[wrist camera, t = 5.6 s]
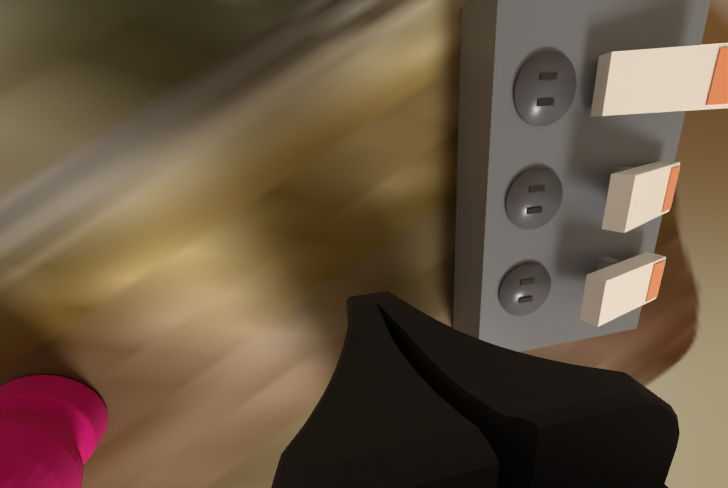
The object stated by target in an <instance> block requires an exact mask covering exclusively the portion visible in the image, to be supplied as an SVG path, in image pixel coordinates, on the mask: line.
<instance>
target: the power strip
mask: <svg viewBox="0 0 728 488" xmlns="http://www.w3.org/2000/svg"><path fill="white" fill-rule="evenodd" d="M710 2H711V0H473V1H472V2H470V3H469V4H467V5H466V6H465V7H463V8H462V9H461V41H460V78H459V116H458V154H457V191H456V229H455V267H454V304H453V328H454V329H456V330H458V331H460V332H462V333H465V334H467V335H470V336H472V337H475V338H477V339H480V340H483V341H485V342H488V343H491V344H494V345H497V346H500V347H503V348H507V349H510V350H513V351H517V352H521V351H526V350H531V349H536V348H541V347H546V346H551V345H556V344H561V343H566V342H571V341H576V340H581V339H586V338H591V337H596V336H601V335H606V334H611V333H616V332H621V331H626V330H631V329H636V328H637V325H638V320H639V316H640V312H641V307H642V306H640V307H638V308H636V309H634V310H632V311H630V312H628V313H626V314H623V315H621V316H619V317H617V318H615V319H613V320H611V321H609V322H607V323H605V324H603V325H601V326H599V327H596V326H594V325H592V324H589V323H587V322H585V321H583V320H581V319H580V314H581V307H582V301H583V295H584V289H585V283H586V277H587V274H590V273H592V272H595V271H597V270H600V269H603V268H605V267H608V266H611V265H613V264H616V263H619V262H621V261H624V260H627V259H629V258H632V257H635V256H637V255H640V254H643V253H645V252H649V253H653V254H654V250H655V245H656V241H657V236H658V232H659V228H660V223H661V219H662V215H660V216H658V217H656V218H654V219H652V220H650V221H648V222H646V223H644V224H642V225H640V226H638V227H636V228H634V229H632V230H630V231H628V232H626V233H621V232H615V231H610V230H604V229H602V224H603V218H604V212H605V206H606V200H607V195H608V189H609V183H610V177H611V174H613V173H617V172H620V171H624V170H628V169H632V168H635V167H639V166H643V165H646V164H650V163H654V162H658V161H660V162H674V161H675V157H676V152H677V148H678V144H679V139H680V135H681V130H682V126H683V121H684V117H685V113H686V111H674V112H659V113H643V114H627V115H612V116H594V117H590V115H591V108H592V101H593V94H594V87H595V80H596V73H597V66H598V59H599V56H600V55H603V54H606V53H609V52H613V51H626V50H639V49H652V48H666V47H679V46H692V45H701V42H702V38H703V33H704V29H705V24H706V20H707V15H708V11H709V7H710Z"/></svg>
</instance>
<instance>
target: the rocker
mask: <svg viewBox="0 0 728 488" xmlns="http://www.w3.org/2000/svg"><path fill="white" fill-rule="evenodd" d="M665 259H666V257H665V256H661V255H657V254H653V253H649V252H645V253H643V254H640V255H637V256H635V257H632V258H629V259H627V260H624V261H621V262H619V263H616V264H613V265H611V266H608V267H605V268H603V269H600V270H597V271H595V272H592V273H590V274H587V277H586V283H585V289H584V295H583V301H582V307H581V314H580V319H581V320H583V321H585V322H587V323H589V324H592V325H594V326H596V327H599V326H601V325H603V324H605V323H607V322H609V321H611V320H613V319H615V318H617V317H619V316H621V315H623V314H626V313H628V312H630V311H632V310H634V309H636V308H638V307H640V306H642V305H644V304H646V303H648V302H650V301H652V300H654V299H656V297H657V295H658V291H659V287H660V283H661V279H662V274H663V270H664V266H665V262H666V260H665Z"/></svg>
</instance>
